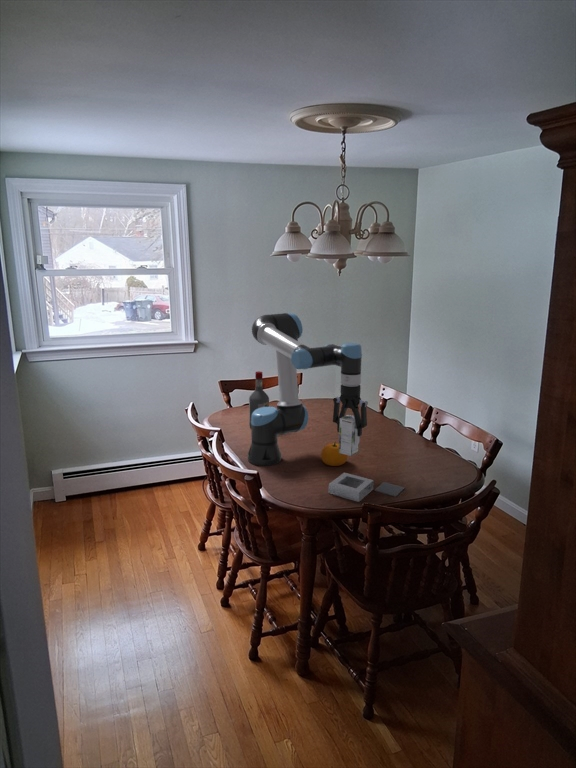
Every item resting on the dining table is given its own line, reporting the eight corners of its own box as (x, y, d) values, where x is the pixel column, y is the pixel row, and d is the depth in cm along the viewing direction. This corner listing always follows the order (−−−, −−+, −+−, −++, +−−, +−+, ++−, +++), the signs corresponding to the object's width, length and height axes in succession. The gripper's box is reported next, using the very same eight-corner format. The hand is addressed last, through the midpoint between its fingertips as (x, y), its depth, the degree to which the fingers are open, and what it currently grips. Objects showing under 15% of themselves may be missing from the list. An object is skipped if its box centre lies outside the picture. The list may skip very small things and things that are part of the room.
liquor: (247, 427, 279) (246, 372, 272) (257, 423, 286) (257, 369, 279) (261, 431, 274) (260, 375, 267) (271, 426, 282) (271, 371, 274)
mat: (374, 491, 208) (374, 490, 208) (383, 482, 215) (383, 481, 215) (395, 496, 203) (395, 495, 203) (404, 488, 210) (404, 487, 210)
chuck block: (328, 493, 206) (328, 483, 205) (343, 481, 216) (344, 472, 215) (358, 502, 199) (359, 492, 198) (373, 489, 209) (373, 480, 208)
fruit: (325, 456, 242) (326, 435, 239) (350, 460, 238) (351, 439, 235) (317, 465, 231) (317, 444, 229) (342, 470, 227) (343, 448, 225)
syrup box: (346, 449, 210) (347, 414, 206) (359, 452, 206) (360, 416, 203) (338, 453, 205) (339, 417, 202) (351, 456, 202) (352, 420, 198)
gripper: (323, 383, 201) (323, 440, 207) (369, 389, 191) (367, 449, 197) (333, 379, 207) (332, 435, 213) (378, 385, 197) (375, 443, 203)
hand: (349, 441), depth 205 cm, fingers closed on syrup box, 6 cm apart
